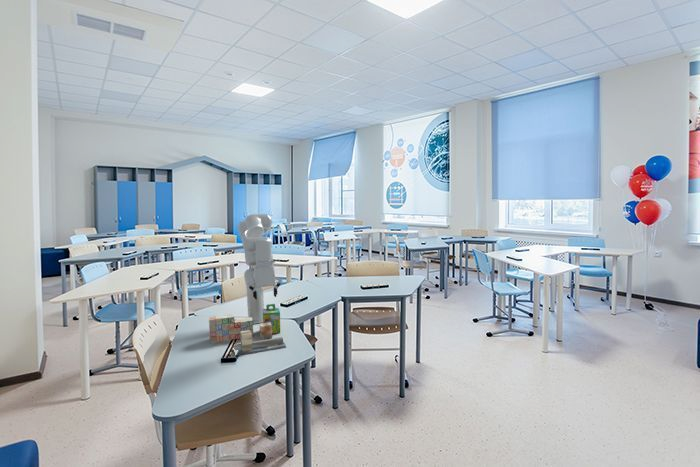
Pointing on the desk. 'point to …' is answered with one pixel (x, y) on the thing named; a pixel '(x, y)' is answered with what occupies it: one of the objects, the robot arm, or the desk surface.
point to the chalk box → (272, 317)
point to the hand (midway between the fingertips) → (265, 297)
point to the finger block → (265, 330)
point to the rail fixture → (257, 344)
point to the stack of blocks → (228, 327)
